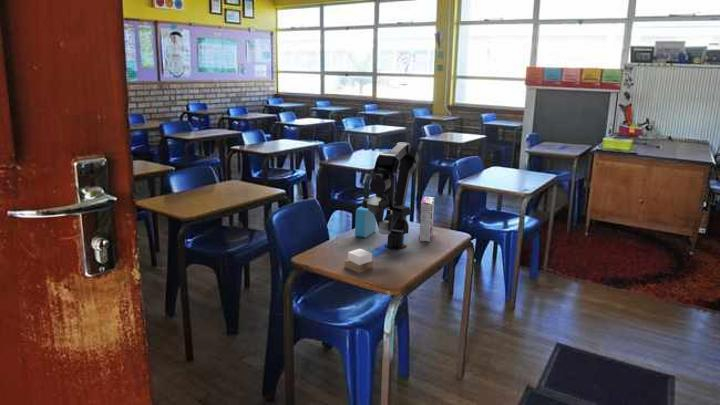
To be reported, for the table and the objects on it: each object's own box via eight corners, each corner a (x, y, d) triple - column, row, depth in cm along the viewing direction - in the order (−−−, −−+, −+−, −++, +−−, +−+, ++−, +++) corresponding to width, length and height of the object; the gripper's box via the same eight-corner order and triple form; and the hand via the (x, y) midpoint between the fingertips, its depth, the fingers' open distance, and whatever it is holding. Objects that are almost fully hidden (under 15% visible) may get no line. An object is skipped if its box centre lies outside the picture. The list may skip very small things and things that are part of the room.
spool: (383, 230, 199) (384, 219, 198) (393, 232, 196) (393, 222, 195) (376, 232, 195) (376, 222, 194) (385, 235, 193) (386, 224, 192)
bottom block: (357, 263, 193) (358, 255, 193) (372, 268, 189) (372, 260, 188) (344, 268, 188) (344, 260, 188) (359, 274, 184) (359, 265, 183)
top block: (360, 256, 192) (360, 248, 191) (371, 261, 188) (372, 253, 187) (347, 260, 188) (348, 252, 187) (359, 265, 184) (359, 256, 183)
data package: (366, 229, 232) (367, 202, 229) (375, 230, 230) (376, 204, 227) (354, 237, 221) (355, 209, 218) (364, 238, 219) (365, 210, 216)
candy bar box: (420, 233, 229) (423, 196, 225) (432, 234, 228) (435, 197, 224) (418, 241, 218) (420, 202, 214) (430, 242, 217) (433, 203, 213)
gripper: (352, 187, 191) (351, 228, 195) (393, 196, 180) (391, 240, 184) (372, 182, 200) (370, 222, 203) (412, 191, 188) (410, 233, 192)
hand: (384, 229), depth 195 cm, fingers closed on spool, 4 cm apart
